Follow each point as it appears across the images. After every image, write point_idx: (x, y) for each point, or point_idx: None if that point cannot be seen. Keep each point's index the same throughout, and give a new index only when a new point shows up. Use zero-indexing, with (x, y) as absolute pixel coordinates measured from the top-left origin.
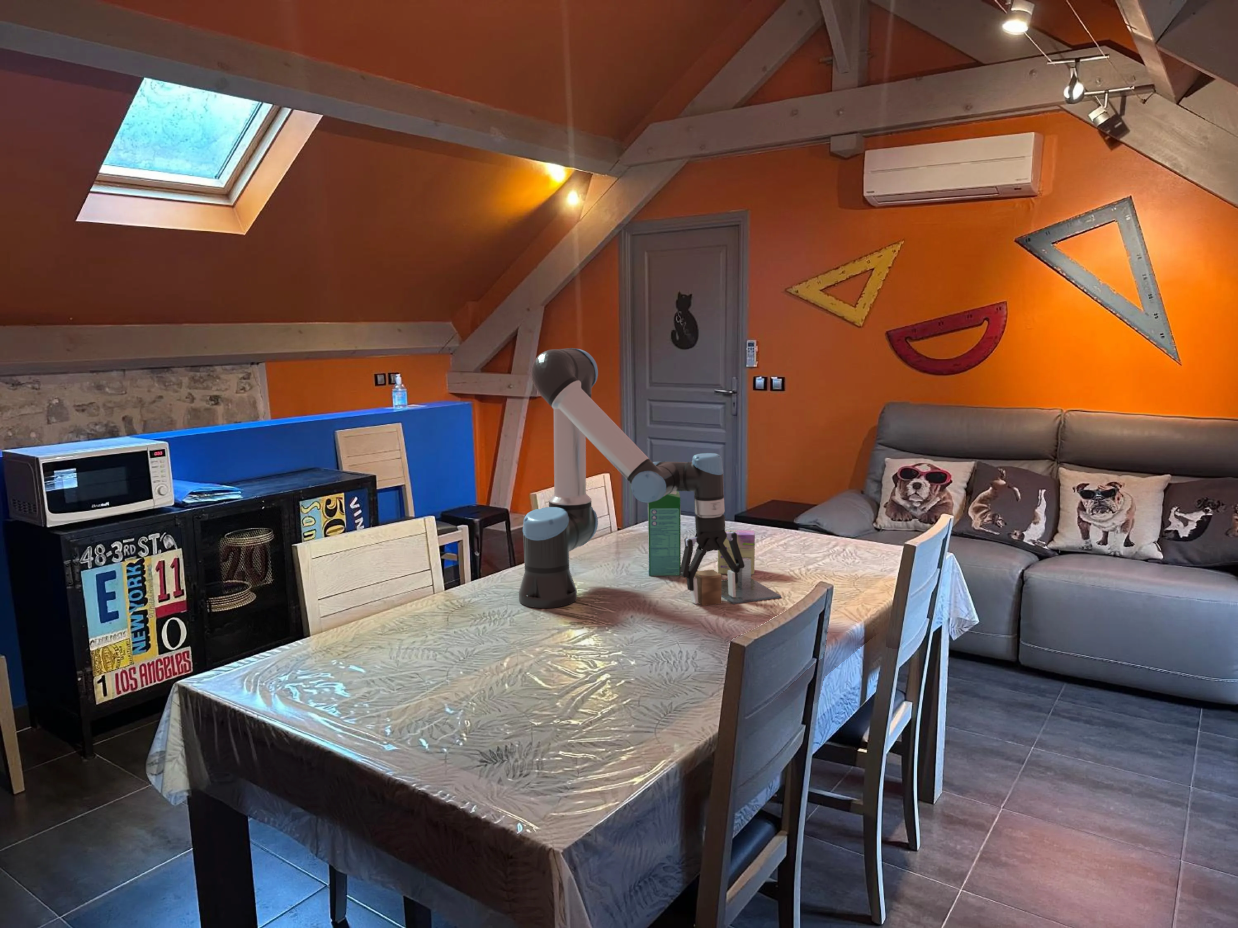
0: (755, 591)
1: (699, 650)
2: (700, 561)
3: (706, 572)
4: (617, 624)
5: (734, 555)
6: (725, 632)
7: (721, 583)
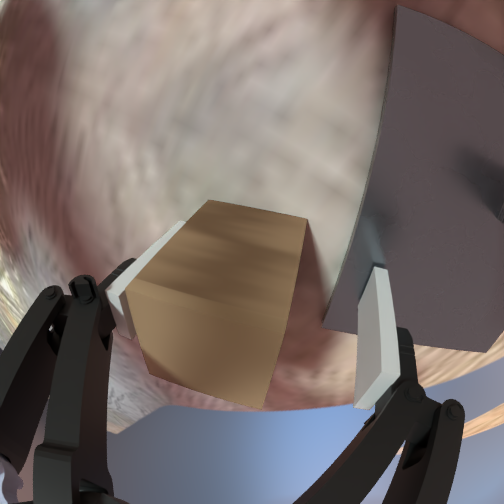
0: (486, 287)
1: (128, 397)
2: (101, 426)
3: (197, 349)
4: (18, 256)
5: (407, 489)
6: (185, 399)
7: (476, 91)
